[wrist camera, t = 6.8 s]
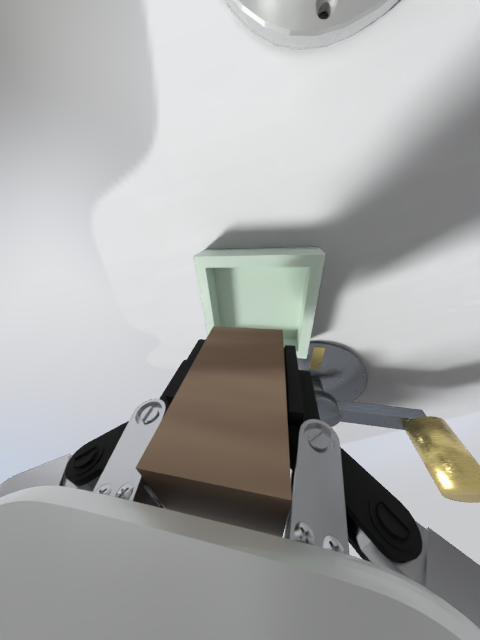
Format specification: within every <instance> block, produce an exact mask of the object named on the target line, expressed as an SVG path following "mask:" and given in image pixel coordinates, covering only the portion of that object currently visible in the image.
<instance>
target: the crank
mask: <svg viewBox="0 0 480 640" xmlns="http://www.w3.org/2000/svg"><path fill="white" fill-rule="evenodd" d="M314 393H315V397H316V402H317V407H318V412H319V417H320V420H321V421H323V422H325V423H327V424H328V425H329V426H331V427H332V426H335V425H336V424H338V423H339V421H341V422H349V423H356V424H364V425H372V426H379V427H387V428H394V429H402V430H405V431H406V432H407V434H408V436H409V438H410V440H411V441H412V443H413V445H414V447H415V448H416V450H417V452H418V454H419V455H420V457H421V459H422V461H423V462H424V464H425V466H426V468H427V470H428V471H429V473H430V475H431V477H432V478H433V480H434V481H435V484H436V485H437V487H438V489H439V491H440V492H441V494H442V495H443V496H444V497H446V498H448V499H450V500H454V501H459V502H480V465H479V464H478V463H477V461H476V460H475V459H474V458H473V456H472V455H471V454H470V452H469V451H468V450H467V449H466V447H465V446H464V445H463V444H462V443H461V441H460V440H459V438H458V437H457V436H456V435H455V433H454V432H453V431H452V429H451V428H450V427H449V426H448V424H447V423H446V422H445V421H444V420H443V419H441V418H437V417H427V416H426V415H425V413H424V412H423V411H422V410H419V409H410V408H401V407H392V406H383V405H375V404H366V403H357V402H348V401H339V400H336V399H335V398H334V397H333V396H332V395H330V394H329V393H326V392H323V391H314Z"/></svg>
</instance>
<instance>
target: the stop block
mask: <svg viewBox="0 0 480 640" xmlns="http://www.w3.org/2000/svg"><path fill="white" fill-rule="evenodd" d="M136 469H137V471H138V472H139V473H140V475H141V476H142V477H143V479H144V480H145V481H146V483H147V484H148V485H149V487H150V488H151V489H152V491H153V492H154V493H155V494H156V496H157V497H158V498H159V500H160V501H161V502H162V504H163V505H164V506H165V508H166V509H168V510H172V511H176V512H180V513H184V514H188V515H193V516H197V517H201V518H205V519H209V520H213V521H217V522H221V523H226V524H230V525H234V526H238V527H242V528H246V529H250V530H254V531H258V532H262V533H266V534H270V535H274V536H278V537H282V536H283V532H284V529H285V525H286V521H287V517H288V513H289V509H290V505H291V501H292V495H291V477H290V458H289V439H288V420H287V401H286V382H285V364H284V345H283V330H277V329H257V328H237V327H217V326H213V328H212V330H211V331H210V333H209V335H208V337H207V339H206V340H205V342H204V344H203V346H202V348H201V350H200V351H199V353H198V355H197V357H196V359H195V360H194V362H193V364H192V366H191V368H190V370H189V371H188V373H187V375H186V377H185V379H184V380H183V382H182V384H181V386H180V388H179V390H178V391H177V393H176V395H175V397H174V399H173V400H172V402H171V404H170V406H169V408H168V410H167V411H166V413H165V415H164V417H163V419H162V421H161V422H160V424H159V426H158V428H157V430H156V431H155V433H154V435H153V437H152V439H151V441H150V442H149V444H148V446H147V448H146V450H145V451H144V453H143V455H142V457H141V459H140V461H139V462H138V464H137V466H136Z"/></svg>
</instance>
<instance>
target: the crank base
mask: <svg viewBox="0 0 480 640" xmlns="http://www.w3.org/2000/svg"><path fill="white" fill-rule="evenodd" d="M297 361H298V369H299V370H307V371H310V374H311V378H312V383H313V388H314V391H323V392H326V393H329V394H330V395H332V396H333V397H334V398H335V399H336V400H339V401H348V402H352V401H354V400H355V399H356V398H357V397H359V396H360V394H361V393H362V392H363V390H364V388H365V386H366V382H367V375H366V371H365V369H364V367H363V365H362V363H361V362H360V360H359V359H358V358H357V357H356V356H355V355H354V354H352V353H351V352H349V351H348V350H346V349H344V348H341V347H339V346H336V345H332V344H327V343H319V342H310V343H309V348H308V354H307V359H302V358H297Z"/></svg>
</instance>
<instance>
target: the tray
mask: <svg viewBox="0 0 480 640" xmlns="http://www.w3.org/2000/svg"><path fill="white" fill-rule="evenodd" d="M325 257H326V254H325V253H324V252H323V251H322V250H321V249H320V248H319V247H294V248H253V249H212V250H203V251H202V252H200V253H198V254H197V255H195V256H193V259H194V265H195V270H196V275H197V281H198V286H199V292H200V297H201V303H202V308H203V314H204V319H205V324H206V330H207V335H209V333H210V331H211V330H212V328H213V326H217V327H237V328H257V329H277V330H283V345H284V347H285V345H295V347H296V354H297V358H302V359H307V354H308V348H309V343H310V338H311V332H312V327H313V321H314V316H315V311H316V305H317V300H318V295H319V289H320V284H321V278H322V273H323V268H324V262H325Z"/></svg>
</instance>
